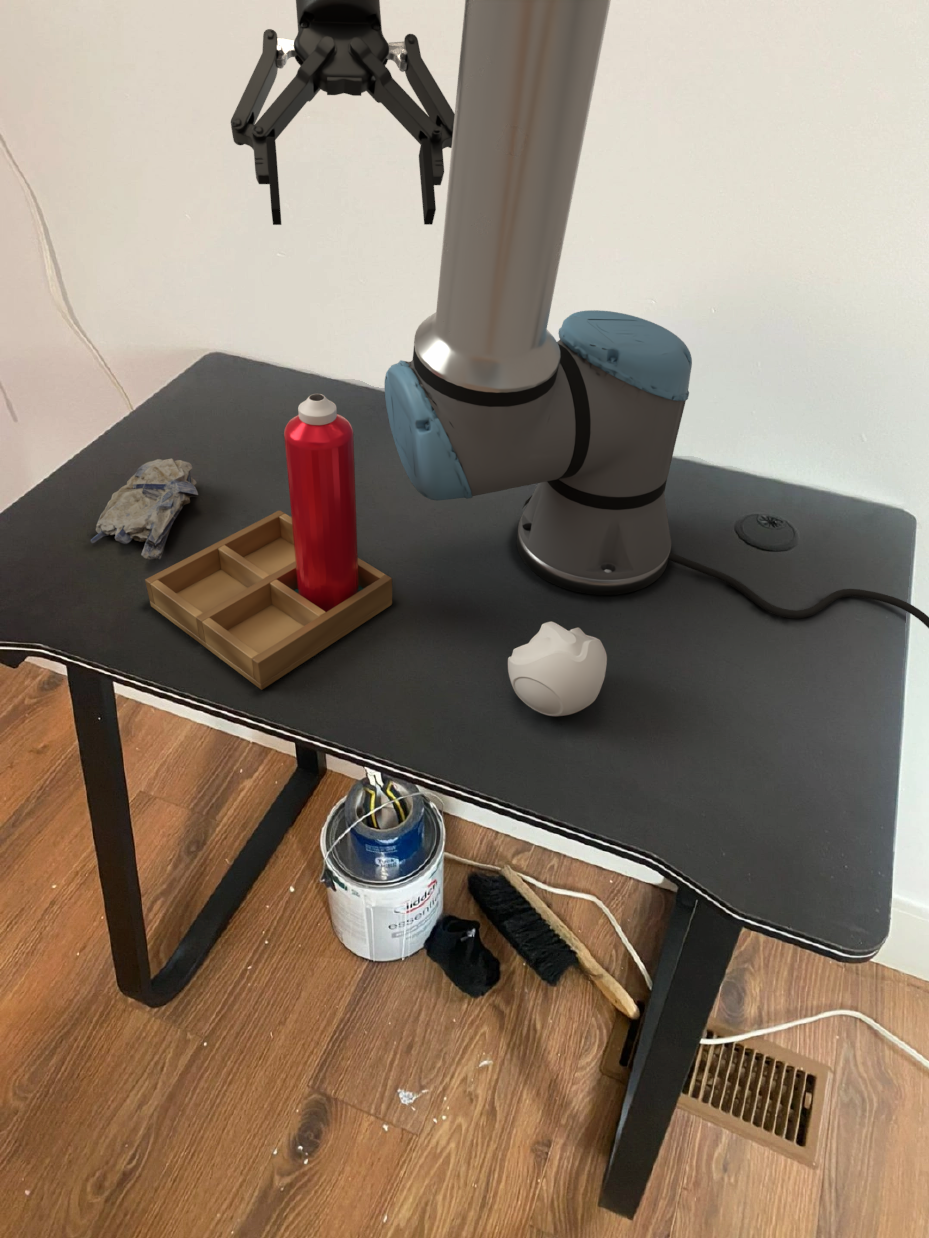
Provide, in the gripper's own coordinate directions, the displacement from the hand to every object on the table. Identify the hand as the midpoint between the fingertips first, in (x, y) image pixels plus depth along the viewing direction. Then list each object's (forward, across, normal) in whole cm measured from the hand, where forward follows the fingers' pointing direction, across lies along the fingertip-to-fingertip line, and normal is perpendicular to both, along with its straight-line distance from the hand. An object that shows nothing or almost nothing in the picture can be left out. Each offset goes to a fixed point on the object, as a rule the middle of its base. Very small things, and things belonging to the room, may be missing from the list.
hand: (354, 217), depth 82 cm
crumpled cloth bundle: (+24, +21, -16) cm, 36 cm away
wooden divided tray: (+34, +10, -6) cm, 35 cm away
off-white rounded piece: (+44, -13, +5) cm, 46 cm away
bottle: (+33, +5, -5) cm, 34 cm away
